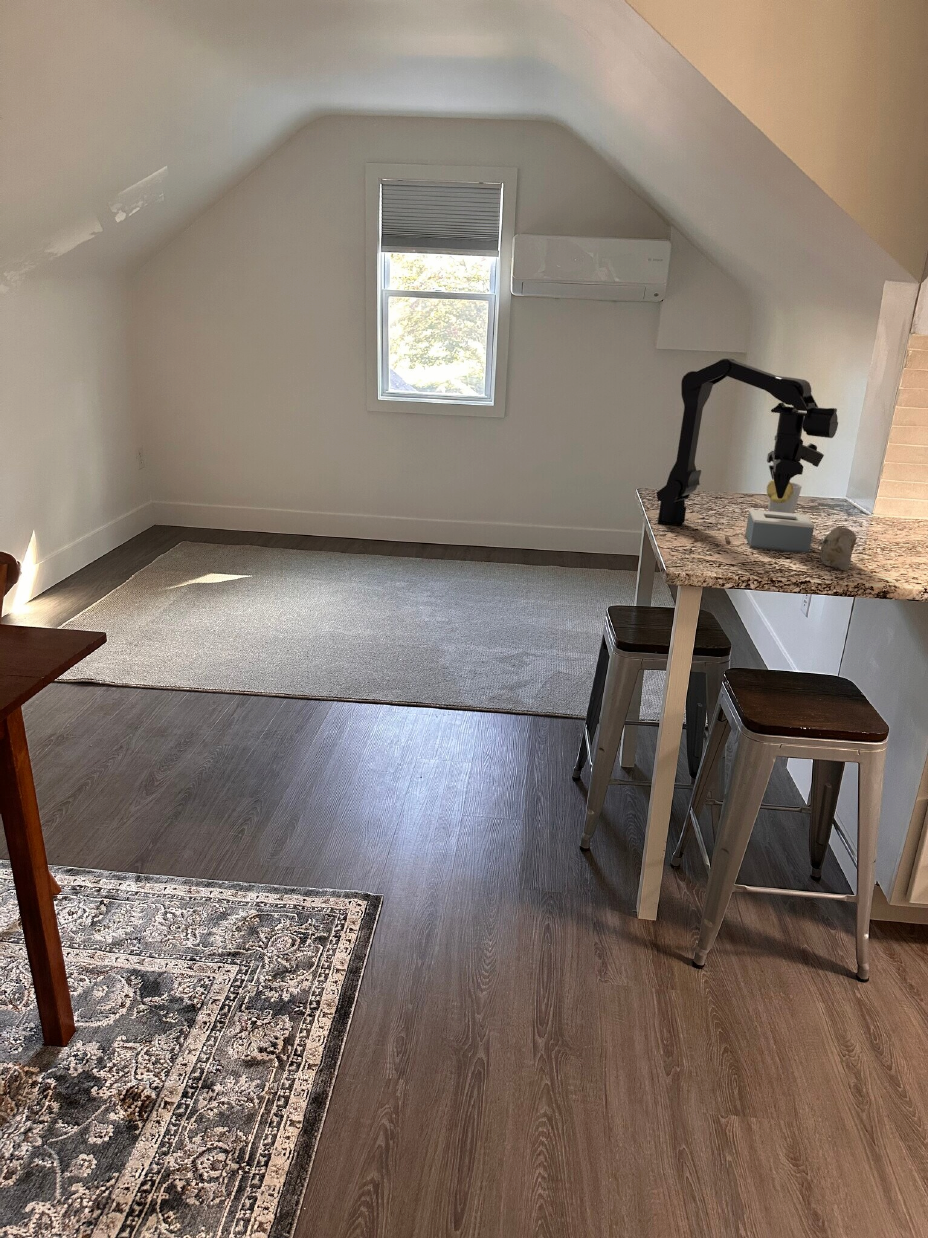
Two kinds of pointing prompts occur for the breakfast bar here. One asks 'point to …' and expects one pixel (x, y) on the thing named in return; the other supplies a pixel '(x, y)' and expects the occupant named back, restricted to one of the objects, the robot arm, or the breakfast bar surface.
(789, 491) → the coin
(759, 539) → the box
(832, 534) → the rock
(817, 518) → the breakfast bar surface
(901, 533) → the breakfast bar surface
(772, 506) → the cup
